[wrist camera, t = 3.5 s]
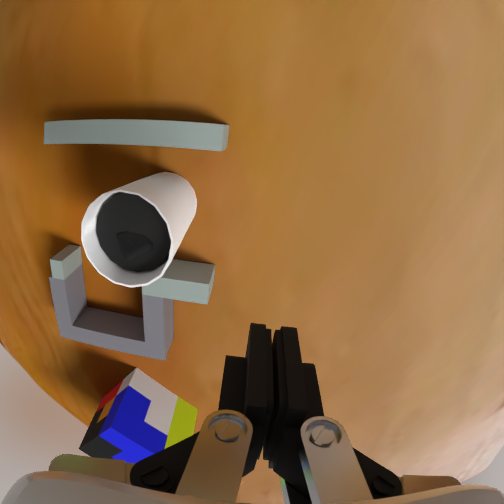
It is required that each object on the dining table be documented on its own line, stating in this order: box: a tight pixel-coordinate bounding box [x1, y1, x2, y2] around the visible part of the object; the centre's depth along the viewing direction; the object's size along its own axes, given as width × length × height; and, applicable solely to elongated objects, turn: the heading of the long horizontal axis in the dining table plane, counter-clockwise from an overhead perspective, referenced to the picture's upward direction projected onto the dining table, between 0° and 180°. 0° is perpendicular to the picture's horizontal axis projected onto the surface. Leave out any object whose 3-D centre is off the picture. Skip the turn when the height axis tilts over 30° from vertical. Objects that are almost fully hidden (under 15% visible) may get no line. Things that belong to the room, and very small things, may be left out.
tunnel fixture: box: [44, 119, 230, 360], centre depth 28 cm, size 30×22×5 cm
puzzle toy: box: [79, 368, 198, 463], centre depth 35 cm, size 10×10×10 cm
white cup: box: [81, 172, 197, 288], centre depth 24 cm, size 7×7×10 cm
